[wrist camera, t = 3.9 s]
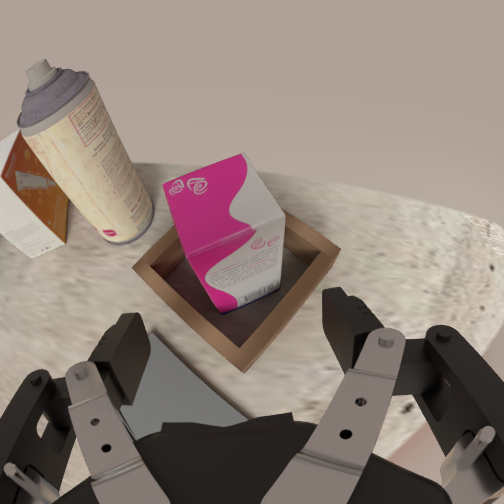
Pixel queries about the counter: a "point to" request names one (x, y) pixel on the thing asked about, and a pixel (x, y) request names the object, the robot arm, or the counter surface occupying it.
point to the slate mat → (174, 396)
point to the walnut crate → (321, 260)
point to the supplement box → (229, 231)
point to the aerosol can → (84, 151)
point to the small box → (29, 200)
